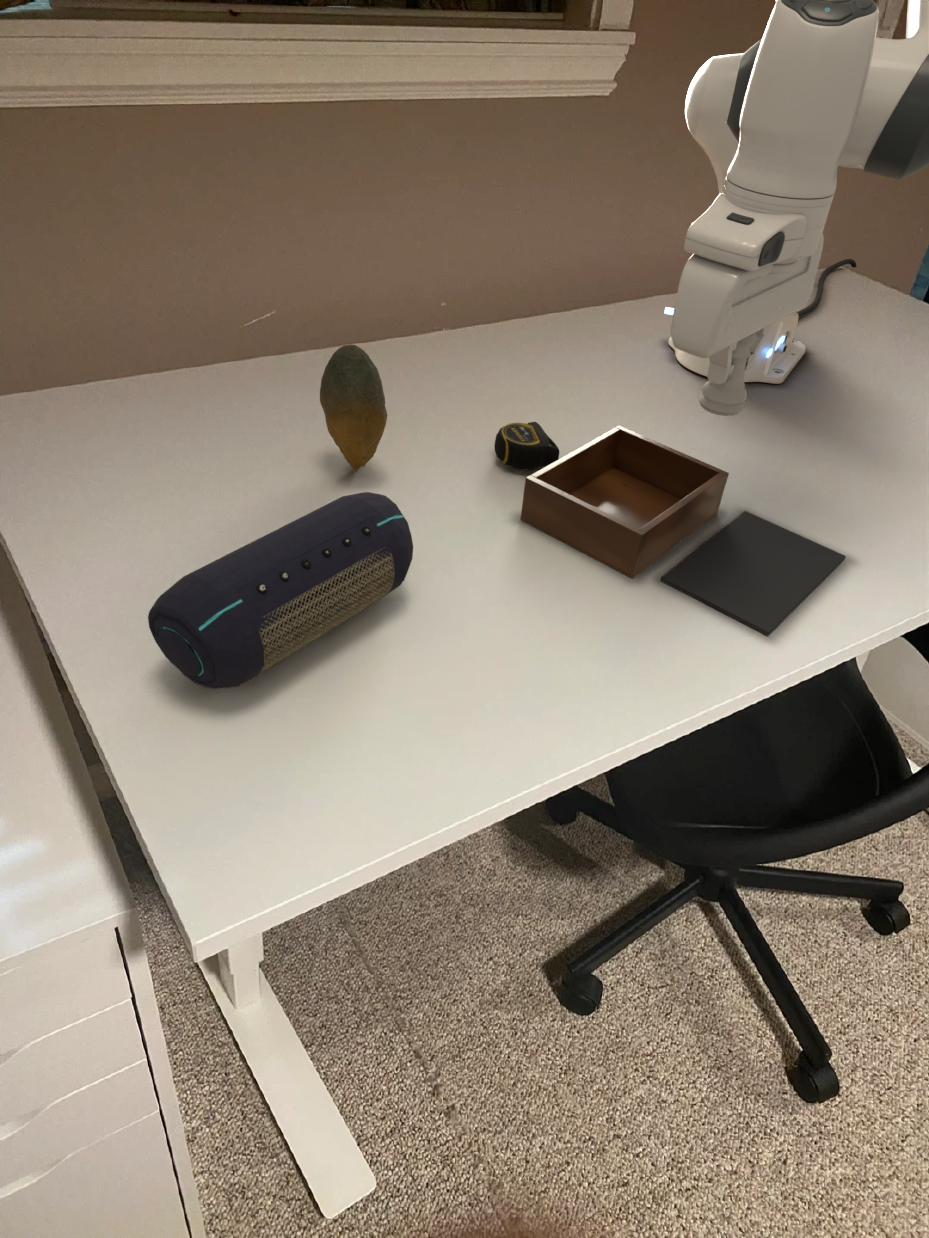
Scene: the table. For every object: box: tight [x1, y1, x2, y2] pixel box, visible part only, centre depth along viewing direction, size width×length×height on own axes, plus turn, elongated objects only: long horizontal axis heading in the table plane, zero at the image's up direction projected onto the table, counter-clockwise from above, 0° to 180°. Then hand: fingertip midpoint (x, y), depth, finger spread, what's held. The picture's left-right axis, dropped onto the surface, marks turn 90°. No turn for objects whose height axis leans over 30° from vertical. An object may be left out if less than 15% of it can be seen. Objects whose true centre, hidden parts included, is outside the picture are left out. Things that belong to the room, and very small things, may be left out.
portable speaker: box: [147, 491, 414, 690], centre depth 80 cm, size 25×10×10 cm, turn 139°
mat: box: [659, 510, 847, 637], centre depth 95 cm, size 18×12×1 cm, turn 138°
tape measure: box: [494, 421, 560, 471], centre depth 108 cm, size 7×7×4 cm
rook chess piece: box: [698, 333, 757, 417], centre depth 85 cm, size 4×4×8 cm
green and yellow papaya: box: [319, 344, 388, 473], centre depth 100 cm, size 10×6×15 cm, turn 37°
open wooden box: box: [519, 425, 730, 579], centre depth 99 cm, size 18×15×5 cm
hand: (729, 374), depth 86 cm, fingers closed on rook chess piece, 3 cm apart
